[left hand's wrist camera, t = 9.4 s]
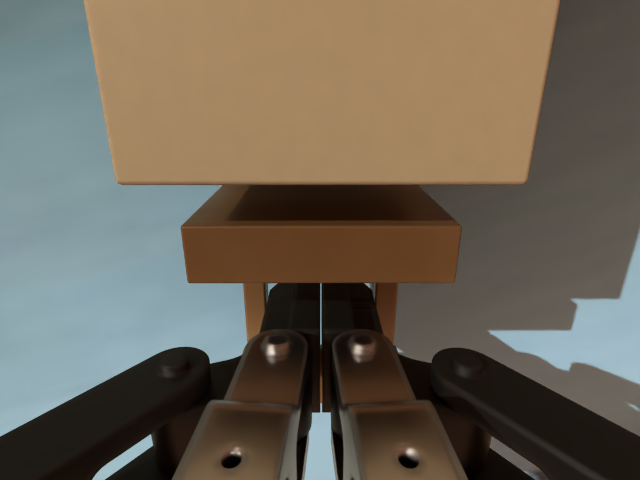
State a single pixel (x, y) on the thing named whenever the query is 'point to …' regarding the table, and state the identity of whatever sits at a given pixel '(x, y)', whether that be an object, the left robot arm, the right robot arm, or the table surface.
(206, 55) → the tan drawer casing
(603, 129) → the table surface
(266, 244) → the wooden drawer
